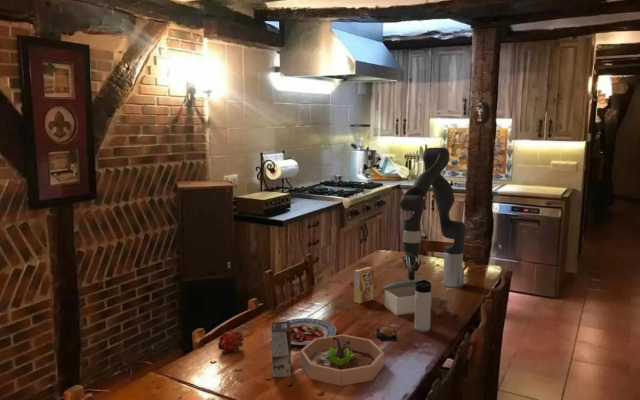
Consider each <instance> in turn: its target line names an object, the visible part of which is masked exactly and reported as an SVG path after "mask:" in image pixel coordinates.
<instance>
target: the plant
mask: <svg viewBox="0 0 640 400" xmlns="http://www.w3.org/2000/svg"><path fill="white" fill-rule="evenodd" d="M335 339H336V340H337V343H338V347H337V349H334V348H330V350H328V351H322V352H319V354H316V355H315V356H313V357H312V360H310V361H311V362H312V364H317V365H321V366H326V367H330V368H335V369H339V370H344V369H350V368H356V367H361V366H367V365H371V361H370V358H369V357H365V356H363V355H361V354H360V353H358V352H353V350H351V349H350V348H349V347H348V346H346V347H345V345H346V344H347V343H348V345H351V342H350V341H347V342H345V343H344V345H343V347H342V348H341V346H340V342H339V340H338V339H337V338H336V337H332V338H331V341H335Z"/></svg>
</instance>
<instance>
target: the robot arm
mask: <svg viewBox="0 0 640 400" xmlns="http://www.w3.org/2000/svg"><path fill="white" fill-rule="evenodd" d="M422 158H423V159H422V160H423V163H424V167H425V169H426V170H425V171H424V172H422V173H421V174H420V175H418V176H417V178H416V180H415V181H414V182H413V185H412V187H410V188H409V189H408V190H407V191H406V192H405V193H403V194H402V196H401V198H400V200H399V207H400V209H401V210H403V211H405V212H413V214H412V215H411V216H405V217H404V219H403V235H402V251H403V252H404V253H405V255H403V256H402V260H403V264H404V266H405V269H406V270H407V271H408V273H407V278H408V280H415V272H418V271H419V268H420V266H421V264H422V261H421V260H419V254H418V253H419V252H421V244H422V243H421V238H422V236H421V235H422V234H421V222H422V221H421V220H422V216H423V212H424V210H425V205H426V201H425V197H426V195H427V194H428V192H429V190H430V188H432V193H433V196H434V200H435V204H436V208H437V212H438V216H439V225H440V231H441V234H442V236H443V237H444V238H446V239H451V240H453V243H451V244H446V245H445V246H444V251H443V252H444V253H443V254H444V255H443V278H442V279H443V280H442V281H443V286H445V287H447V288H460V287H462V286H464V285H465V284H464V283H465V282H464V281H465V280H464V278H465V267H464V266H463V263H464V261H463V259H464V249H465V239H466V225H465V223H464V222H463V221H459V220H452V219H451V217H450V211H451V210H452V207H453V206H454V203H455V193H454V190H453V186H452V185H451V184H450V182H449V181H448V180H447V179H446V178H445V177H444V176H443V175H442V174H441V173H442V172H443V171H444V170H445V168H446V167H447V166H448V165H449V162H450V152H449V150H448V148H446V147H427V148H425V149H424V150H423V154H422Z"/></svg>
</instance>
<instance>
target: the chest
mask: <svg viewBox="0 0 640 400" xmlns="http://www.w3.org/2000/svg"><path fill="white" fill-rule="evenodd" d="M415 289H416V286H408V287H400V288H392V289H384V307H385V308H386V309H387V310H389V311H390V312H391V313H393V314H394V315H395V316H402V315H403V316H405V315H411V314H415Z"/></svg>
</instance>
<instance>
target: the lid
mask: <svg viewBox="0 0 640 400" xmlns="http://www.w3.org/2000/svg"><path fill="white" fill-rule="evenodd" d="M422 280H427V281H428V280H430V278H429V277H425V278H418V279H417V278H416V279H415V278H414V280H409V279H408V280H399V281H394V282H391V283H389V284H387V285H384V286H383V287H382V289H383V290H385V289H393V288H401V287H409V286H416V282H418V281H422Z"/></svg>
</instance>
